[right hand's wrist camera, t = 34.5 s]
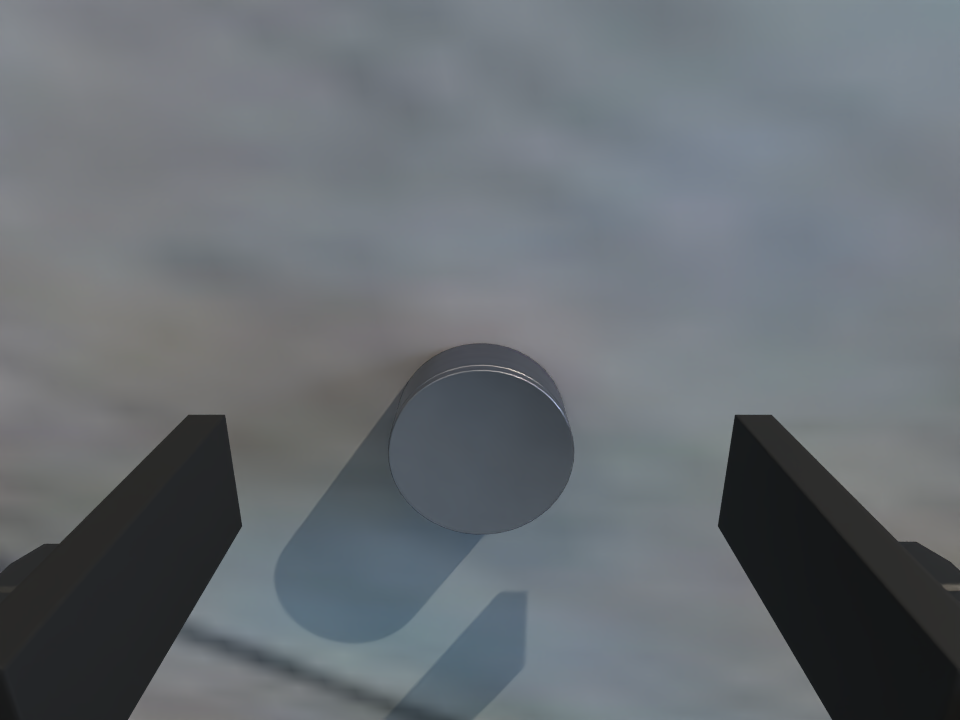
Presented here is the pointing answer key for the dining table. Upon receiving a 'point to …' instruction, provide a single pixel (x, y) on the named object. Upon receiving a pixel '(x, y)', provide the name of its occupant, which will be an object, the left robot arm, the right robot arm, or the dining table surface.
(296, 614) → the dining table surface
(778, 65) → the dining table surface
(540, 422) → the cap
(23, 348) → the dining table surface
